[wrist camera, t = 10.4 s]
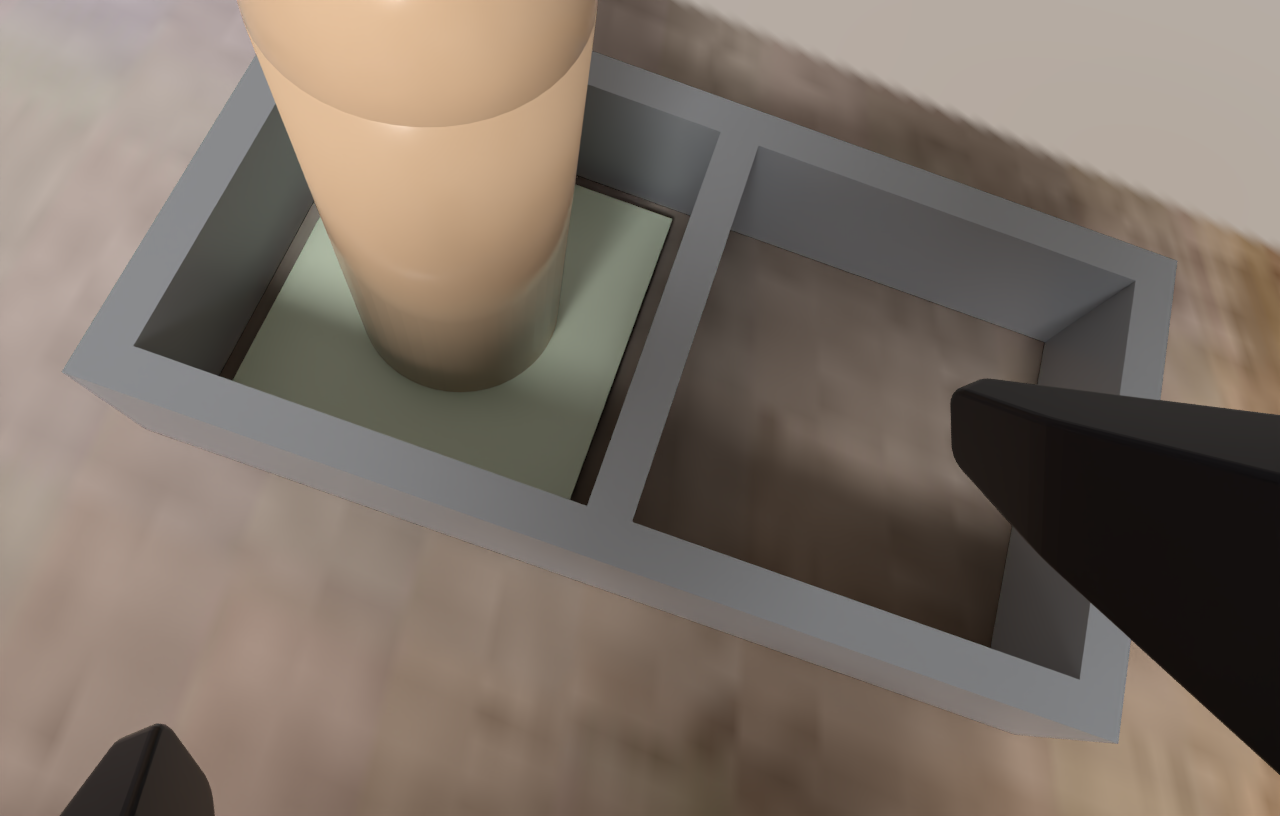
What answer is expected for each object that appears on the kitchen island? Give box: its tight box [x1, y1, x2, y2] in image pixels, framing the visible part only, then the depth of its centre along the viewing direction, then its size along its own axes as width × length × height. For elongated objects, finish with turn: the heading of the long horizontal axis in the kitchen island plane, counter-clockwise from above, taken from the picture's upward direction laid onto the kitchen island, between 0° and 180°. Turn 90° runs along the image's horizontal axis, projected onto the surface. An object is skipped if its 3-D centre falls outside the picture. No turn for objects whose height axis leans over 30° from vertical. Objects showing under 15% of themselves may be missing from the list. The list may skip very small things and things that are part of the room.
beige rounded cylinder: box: [237, 0, 598, 392], centre depth 17 cm, size 5×5×14 cm
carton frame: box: [62, 51, 1177, 744], centre depth 21 cm, size 12×23×4 cm, turn 72°
